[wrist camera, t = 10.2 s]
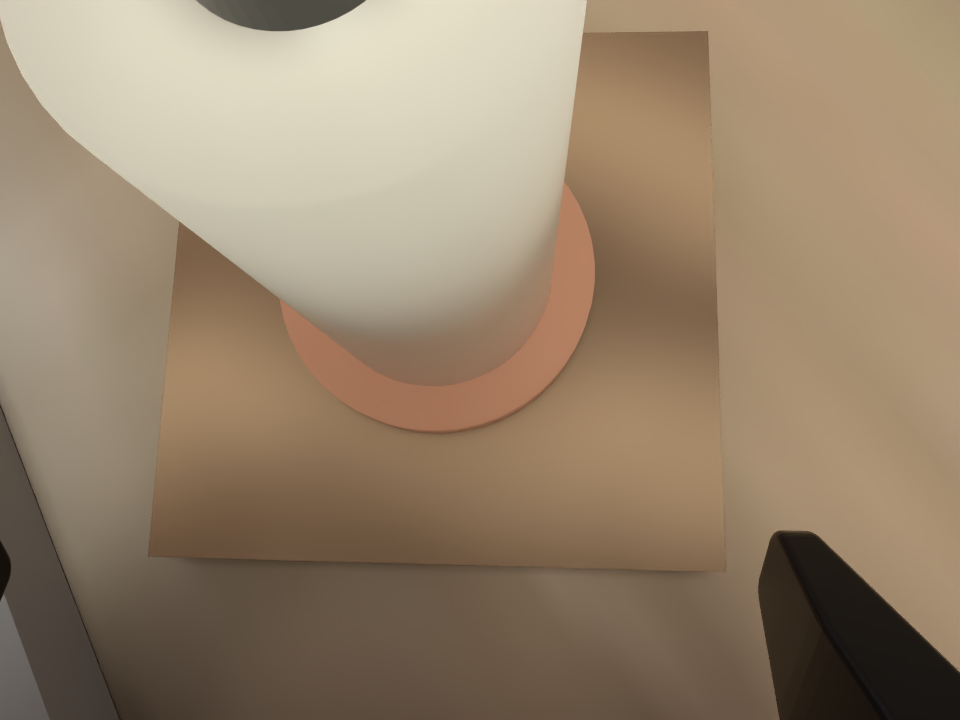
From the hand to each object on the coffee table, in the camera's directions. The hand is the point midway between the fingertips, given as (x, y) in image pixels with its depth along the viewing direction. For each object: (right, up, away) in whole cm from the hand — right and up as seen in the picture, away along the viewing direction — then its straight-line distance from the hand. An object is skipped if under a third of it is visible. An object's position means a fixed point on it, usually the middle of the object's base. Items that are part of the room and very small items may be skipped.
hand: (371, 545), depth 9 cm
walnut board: (0, +3, +8) cm, 9 cm away
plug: (0, +4, +7) cm, 8 cm away
